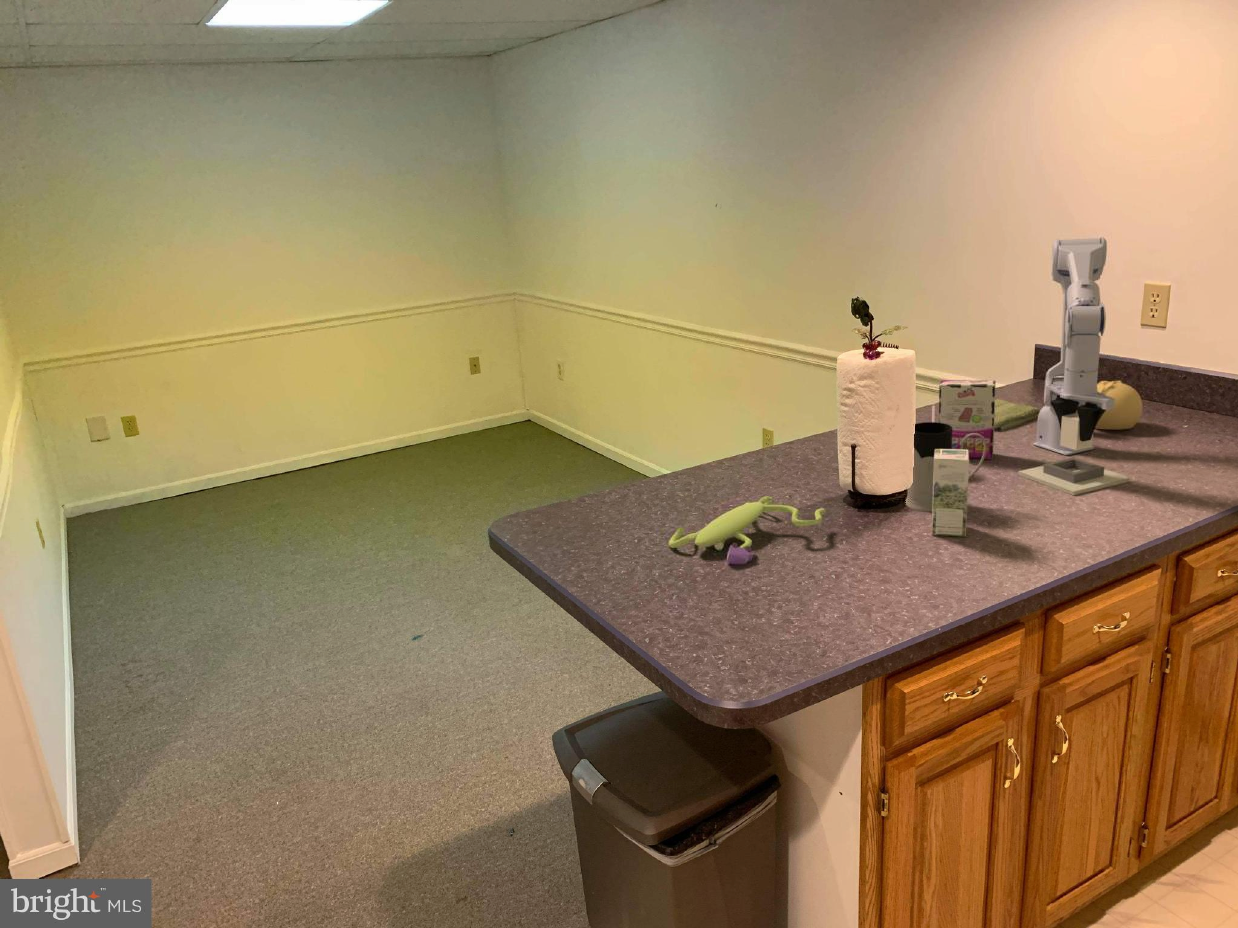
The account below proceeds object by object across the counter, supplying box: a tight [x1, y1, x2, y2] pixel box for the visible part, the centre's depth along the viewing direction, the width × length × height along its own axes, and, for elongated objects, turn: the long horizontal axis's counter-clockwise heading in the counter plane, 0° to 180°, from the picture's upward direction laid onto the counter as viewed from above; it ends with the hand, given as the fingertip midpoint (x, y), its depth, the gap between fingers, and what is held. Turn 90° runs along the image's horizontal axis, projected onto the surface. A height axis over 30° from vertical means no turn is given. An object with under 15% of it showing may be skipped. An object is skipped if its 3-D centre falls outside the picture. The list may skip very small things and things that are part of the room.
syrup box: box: [931, 449, 970, 538], centre depth 163 cm, size 6×6×14 cm
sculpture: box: [1095, 380, 1143, 431], centre depth 211 cm, size 12×12×11 cm
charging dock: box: [1017, 456, 1131, 496], centre depth 184 cm, size 14×14×3 cm
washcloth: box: [994, 398, 1041, 432], centre depth 225 cm, size 13×18×3 cm
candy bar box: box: [938, 379, 996, 460], centre depth 200 cm, size 11×5×16 cm, turn 68°
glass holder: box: [904, 421, 987, 513], centre depth 175 cm, size 9×14×15 cm, turn 78°
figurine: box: [668, 495, 826, 565], centre depth 168 cm, size 18×27×6 cm
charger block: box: [1060, 413, 1094, 450], centre depth 181 cm, size 4×4×6 cm
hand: (1076, 437), depth 182 cm, fingers closed on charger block, 4 cm apart
